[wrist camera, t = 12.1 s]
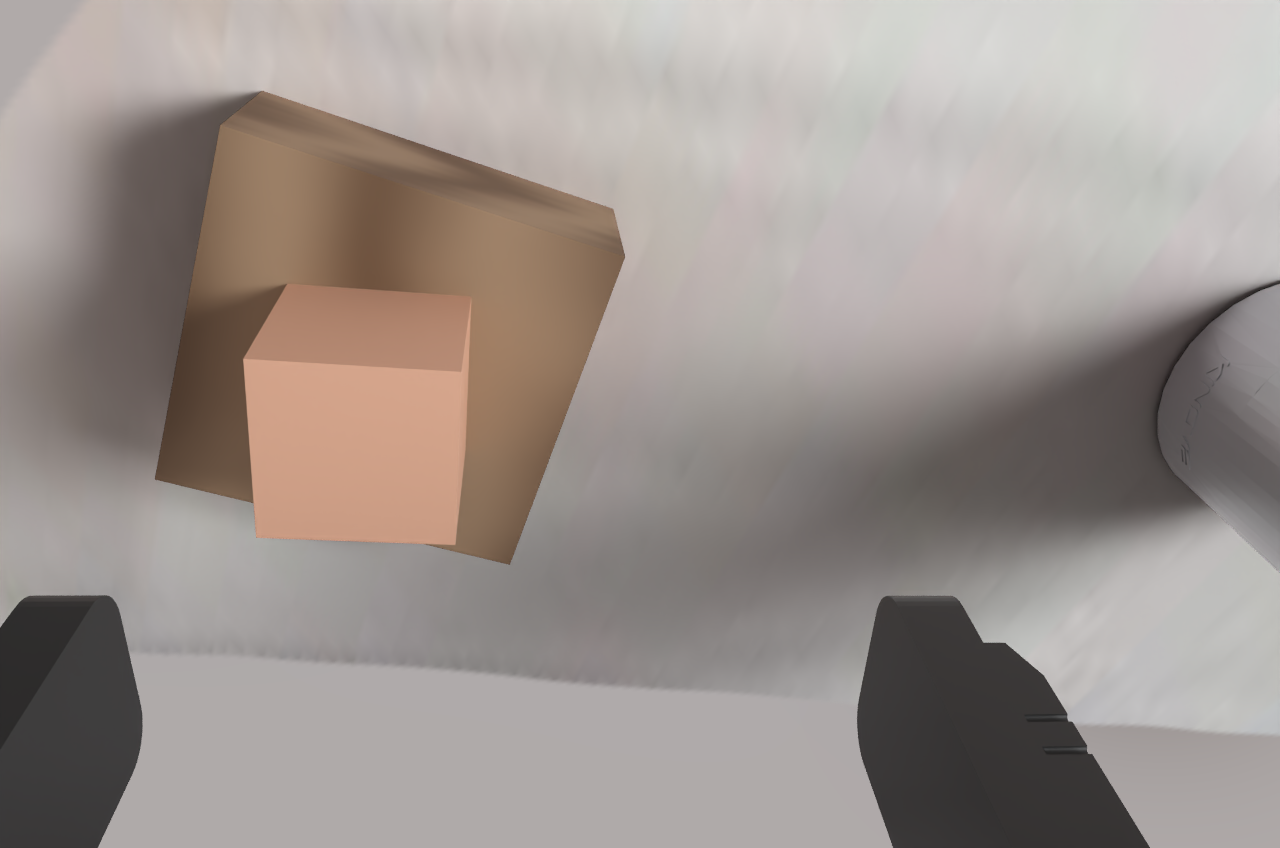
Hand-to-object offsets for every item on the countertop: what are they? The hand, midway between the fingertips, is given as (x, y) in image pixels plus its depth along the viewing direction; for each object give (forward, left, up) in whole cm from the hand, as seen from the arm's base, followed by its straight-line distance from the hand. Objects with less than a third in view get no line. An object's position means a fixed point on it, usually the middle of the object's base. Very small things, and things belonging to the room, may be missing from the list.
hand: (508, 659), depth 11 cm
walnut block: (+4, +5, -24) cm, 25 cm away
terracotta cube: (+4, +5, -19) cm, 20 cm away
